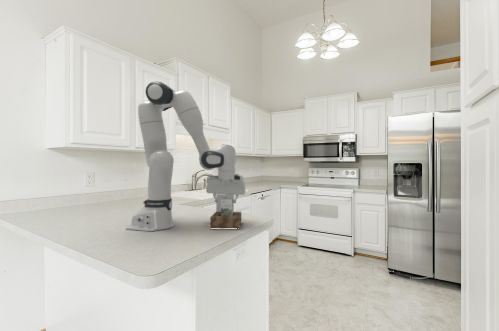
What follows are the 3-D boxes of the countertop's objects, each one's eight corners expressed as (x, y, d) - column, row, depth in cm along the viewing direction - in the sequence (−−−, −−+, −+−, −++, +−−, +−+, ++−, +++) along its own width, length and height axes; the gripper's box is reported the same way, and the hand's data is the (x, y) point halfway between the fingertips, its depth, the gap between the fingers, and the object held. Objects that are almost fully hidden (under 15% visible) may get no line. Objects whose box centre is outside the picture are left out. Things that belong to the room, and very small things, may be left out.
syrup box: (233, 224, 127) (233, 197, 126) (231, 227, 121) (231, 199, 121) (222, 224, 127) (222, 197, 127) (220, 227, 121) (220, 198, 121)
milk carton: (225, 222, 132) (225, 187, 132) (216, 220, 136) (216, 187, 136) (233, 219, 137) (233, 187, 137) (224, 218, 142) (224, 186, 142)
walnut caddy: (210, 229, 117) (210, 217, 117) (216, 222, 131) (216, 211, 131) (238, 229, 116) (238, 217, 116) (241, 222, 130) (241, 212, 130)
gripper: (205, 175, 121) (204, 202, 121) (245, 177, 120) (244, 204, 120) (208, 175, 127) (207, 200, 127) (246, 176, 126) (245, 202, 126)
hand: (225, 202), depth 124 cm, fingers open, 8 cm apart
